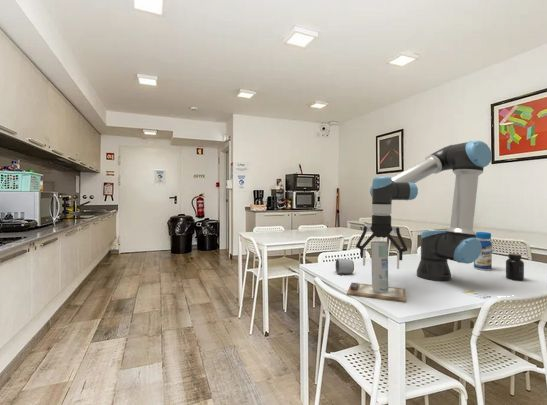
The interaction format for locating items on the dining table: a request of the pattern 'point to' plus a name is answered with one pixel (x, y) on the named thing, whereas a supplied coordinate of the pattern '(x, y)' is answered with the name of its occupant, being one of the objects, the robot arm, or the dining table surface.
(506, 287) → the dining table surface
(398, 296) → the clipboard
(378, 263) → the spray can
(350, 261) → the grey cylinder
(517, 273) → the supplement bottle
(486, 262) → the beverage bottle
